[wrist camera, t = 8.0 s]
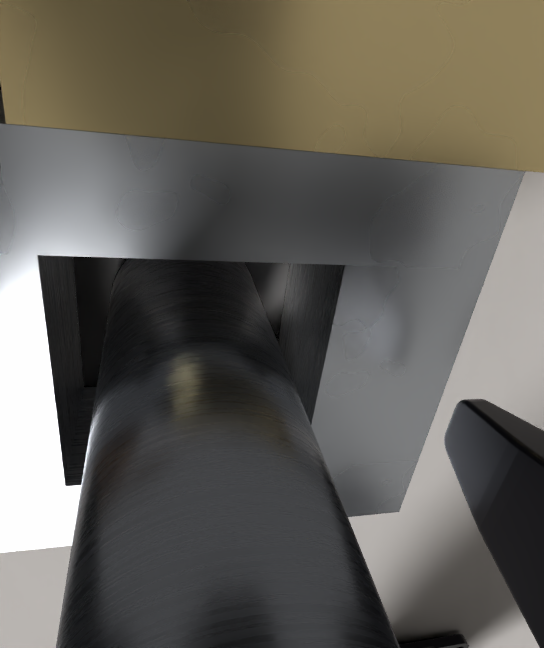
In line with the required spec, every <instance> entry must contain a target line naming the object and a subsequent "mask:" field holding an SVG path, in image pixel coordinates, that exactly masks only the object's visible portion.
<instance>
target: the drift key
mask: <svg viewBox="0 0 544 648" xmlns="http://www.w3.org/2000/svg"><path fill="white" fill-rule="evenodd" d="M0 83H1V90H2V98H3V105H4V112H5V120H6V124H17V125H28V126H39V127H50V128H61V129H72V130H83V131H94V132H105V133H116V134H127V135H137V136H148V137H159V138H170V139H181V140H192V141H203V142H214V143H225V144H236V145H247V146H258V147H269V148H280V149H291V150H302V151H313V152H324V153H335V154H346V155H357V156H368V157H379V158H390V159H401V160H412V161H423V162H434V163H445V164H456V165H467V166H478V167H489V168H500V169H511V170H522V171H533V172H544V0H0Z"/></svg>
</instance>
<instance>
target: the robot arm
mask: <svg viewBox="0 0 544 648" xmlns="http://www.w3.org/2000/svg"><path fill="white" fill-rule="evenodd" d="M444 443H445V448H446V451H447V454H448V456H449V459H450V461H451V464H452V466H453V469H454V471H455V474H456V476H457V478H458V481H459V483H460V486H461V488H462V491H463V493H464V496H465V498H466V501H467V503H468V506H469V508H470V510H471V513H472V515H473V518H474V520H475V522H476V525H477V527H478V529H479V531H480V533H481V535H482V537H483V539H484V541H485V543H486V545H487V547H488V549H489V551H490V553H491V555H492V557H493V559H494V561H495V563H496V564H497V566H498V568H499V570H500V572H501V574H502V576H503V578H504V580H505V582H506V584H507V586H508V588H509V589H510V591H511V593H512V595H513V597H514V599H515V601H516V603H517V605H518V607H519V609H520V611H521V612H522V614H523V616H524V618H525V620H526V622H527V624H528V626H529V628H530V630H531V632H532V634H533V635H534V637H535V639H536V641H537V643H538V645H539V647H540V648H544V431H543V430H541V429H539V428H537V427H535V426H533V425H532V424H530V423H528V422H526V421H524V420H522V419H520V418H518V417H516V416H515V415H513V414H511V413H509V412H507V411H505V410H503V409H501V408H500V407H498V406H496V405H494V404H492V403H490V402H488V401H486V400H483V399H467V400H462V401H460V402H459V403H458V404H457V405H456V408H455V410H454V413H453V415H452V418H451V420H450V423H449V425H448V428H447V430H446V433H445V438H444ZM399 647H400V648H468V647H469V645H468V644H467V642H466V640H465V638H464V636H463V635H461V634H457V635H451V636H446V637H440V638H434V639H429V640H423V641H417V642H411V643H406V644H400V645H399Z"/></svg>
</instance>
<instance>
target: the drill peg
mask: <svg viewBox="0 0 544 648" xmlns="http://www.w3.org/2000/svg"><path fill="white" fill-rule="evenodd" d="M56 648H400V647H399V644H398V642H397V639H396V637H395V634H394V632H393V629H392V627H391V624H390V622H389V619H388V617H387V614H386V612H385V609H384V607H383V604H382V602H381V599H380V597H379V594H378V592H377V589H376V587H375V584H374V582H373V579H372V577H371V574H370V572H369V569H368V567H367V564H366V562H365V559H364V557H363V554H362V552H361V549H360V547H359V544H358V542H357V539H356V537H355V534H354V532H353V529H352V527H351V524H350V522H349V519H348V517H347V514H346V512H345V509H344V507H343V504H342V502H341V499H340V497H339V494H338V492H337V489H336V487H335V484H334V482H333V479H332V477H331V474H330V472H329V469H328V467H327V464H326V462H325V459H324V457H323V454H322V452H321V449H320V447H319V444H318V442H317V439H316V437H315V434H314V432H313V429H312V427H311V424H310V422H309V419H308V417H307V414H306V412H305V409H304V407H303V404H302V402H301V399H300V397H299V394H298V392H297V389H296V387H295V384H294V382H293V379H292V377H291V374H290V372H289V369H288V367H287V364H286V362H285V359H284V357H283V354H282V352H281V349H280V347H279V344H278V342H277V339H276V337H275V334H274V332H273V329H272V327H271V324H270V322H269V319H268V317H267V314H266V312H265V309H264V307H263V304H262V302H261V299H260V297H259V294H258V292H257V289H256V287H255V284H254V282H253V279H252V277H251V275H250V272H249V270H248V269H247V267H246V265H245V264H244V263H243V262H234V261H203V260H171V259H140V258H128V259H127V260H126V261H125V262H124V264H123V265H122V266H121V268H120V269H119V271H118V273H117V275H116V277H115V280H114V283H113V287H112V292H111V299H110V305H109V311H108V318H107V324H106V330H105V337H104V343H103V350H102V356H101V362H100V369H99V375H98V382H97V388H96V394H95V401H94V407H93V414H92V420H91V426H90V433H89V439H88V446H87V452H86V458H85V465H84V471H83V478H82V484H81V490H80V497H79V503H78V510H77V516H76V522H75V529H74V535H73V541H72V548H71V554H70V561H69V567H68V573H67V580H66V586H65V593H64V599H63V605H62V612H61V618H60V625H59V631H58V637H57V644H56Z"/></svg>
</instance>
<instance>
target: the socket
mask: <svg viewBox="0 0 544 648" xmlns="http://www.w3.org/2000/svg"><path fill="white" fill-rule="evenodd" d="M524 173H525V171H522V170H511V169H500V168H489V167H478V166H467V165H456V164H445V163H434V162H423V161H412V160H401V159H390V158H379V157H368V156H357V155H346V154H335V153H324V152H313V151H302V150H291V149H280V148H269V147H258V146H247V145H236V144H225V143H214V142H203V141H192V140H181V139H170V138H159V137H148V136H137V135H127V134H116V133H105V132H94V131H83V130H72V129H61V128H50V127H39V126H28V125H17V124H6V120H5V112H4V105H3V98H2V92H1V91H0V553H1V552H11V551H20V550H30V549H40V548H50V547H59V546H69V545H72V541H73V535H74V529H75V522H76V516H77V510H78V503H79V497H80V490H81V484H82V478H83V471H84V465H85V458H86V452H87V446H88V439H89V433H90V426H91V420H92V414H93V407H94V401H95V394H96V388H97V387H84V383H83V371H82V359H81V347H80V335H79V323H78V311H77V299H76V287H75V275H74V263H73V256H78V257H109V258H140V259H171V260H203V261H234V262H265V263H290V266H289V273H288V279H287V286H286V292H285V299H284V306H283V312H282V319H281V325H280V332H279V339H278V344H279V347H280V349H281V352H282V354H283V357H284V359H285V362H286V364H287V367H288V369H289V372H290V374H291V377H292V379H293V382H294V384H295V387H296V389H297V392H298V394H299V397H300V399H301V402H302V404H303V407H304V409H305V412H306V414H307V417H308V419H309V422H310V424H311V427H312V429H313V432H314V434H315V437H316V439H317V442H318V444H319V447H320V449H321V452H322V454H323V457H324V459H325V462H326V464H327V467H328V469H329V472H330V474H331V477H332V479H333V482H334V484H335V487H336V489H337V492H338V494H339V497H340V499H341V502H342V504H343V507H344V509H345V512H346V514H347V517H352V516H362V515H372V514H381V513H391V512H399V510H400V508H401V505H402V502H403V500H404V497H405V494H406V491H407V489H408V486H409V483H410V481H411V478H412V475H413V473H414V470H415V467H416V464H417V462H418V459H419V456H420V454H421V451H422V448H423V446H424V443H425V440H426V437H427V435H428V432H429V429H430V427H431V424H432V421H433V419H434V416H435V413H436V410H437V408H438V405H439V402H440V400H441V397H442V394H443V392H444V389H445V386H446V383H447V381H448V378H449V375H450V373H451V370H452V367H453V365H454V362H455V359H456V356H457V354H458V351H459V348H460V346H461V343H462V340H463V338H464V335H465V332H466V329H467V327H468V324H469V321H470V319H471V316H472V313H473V311H474V308H475V305H476V302H477V300H478V297H479V294H480V292H481V289H482V286H483V284H484V281H485V278H486V275H487V273H488V270H489V267H490V265H491V262H492V259H493V257H494V254H495V251H496V248H497V246H498V243H499V240H500V238H501V235H502V232H503V230H504V227H505V224H506V221H507V219H508V216H509V213H510V211H511V208H512V205H513V203H514V200H515V197H516V194H517V192H518V189H519V186H520V184H521V181H522V178H523V176H524Z"/></svg>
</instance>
